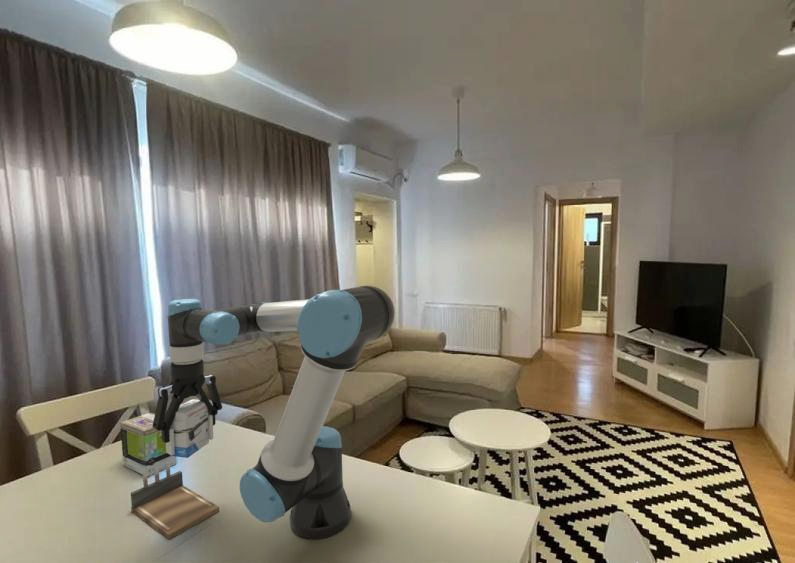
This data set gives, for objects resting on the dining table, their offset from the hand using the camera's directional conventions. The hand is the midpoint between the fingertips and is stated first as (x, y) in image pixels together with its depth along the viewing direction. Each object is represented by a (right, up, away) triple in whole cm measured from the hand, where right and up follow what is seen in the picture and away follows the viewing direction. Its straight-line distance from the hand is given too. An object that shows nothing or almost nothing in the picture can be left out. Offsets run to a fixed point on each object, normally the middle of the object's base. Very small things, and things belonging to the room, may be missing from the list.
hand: (190, 445), depth 107 cm
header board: (-6, -19, +3) cm, 20 cm away
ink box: (0, -1, 0) cm, 1 cm away
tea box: (-27, -17, +28) cm, 43 cm away
